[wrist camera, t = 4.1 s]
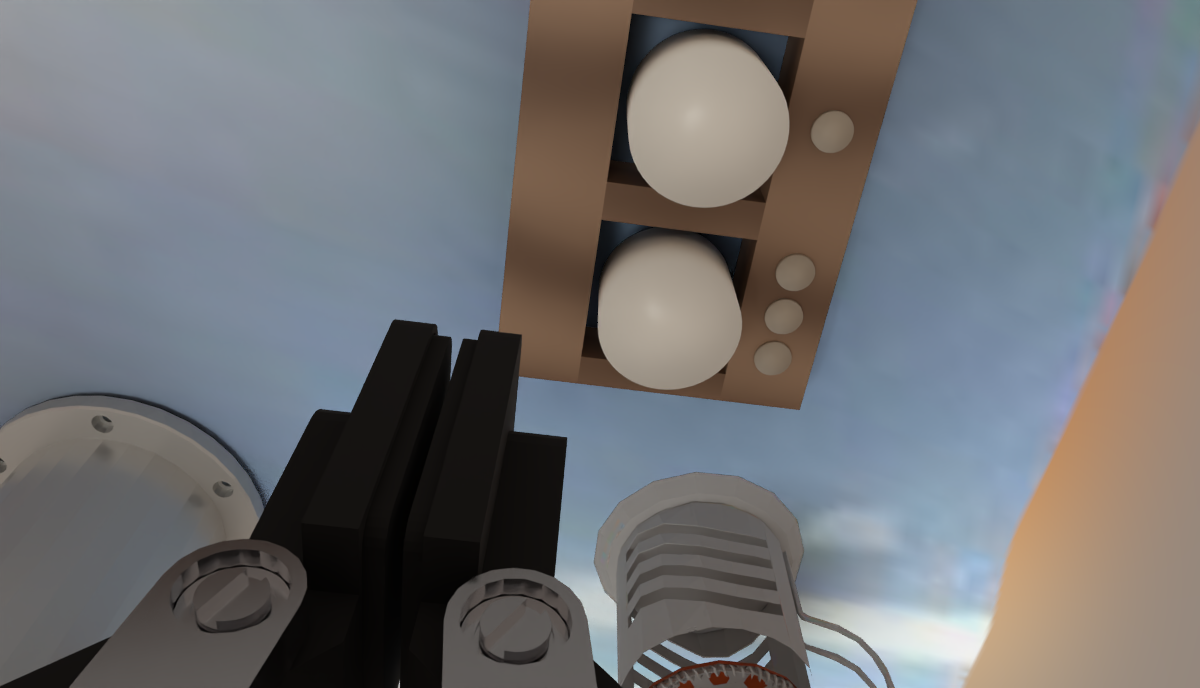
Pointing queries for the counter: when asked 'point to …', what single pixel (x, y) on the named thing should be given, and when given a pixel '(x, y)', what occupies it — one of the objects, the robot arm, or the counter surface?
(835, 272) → the button panel
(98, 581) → the robot arm
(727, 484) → the french press
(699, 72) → the button
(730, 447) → the counter surface
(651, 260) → the three-pip button
